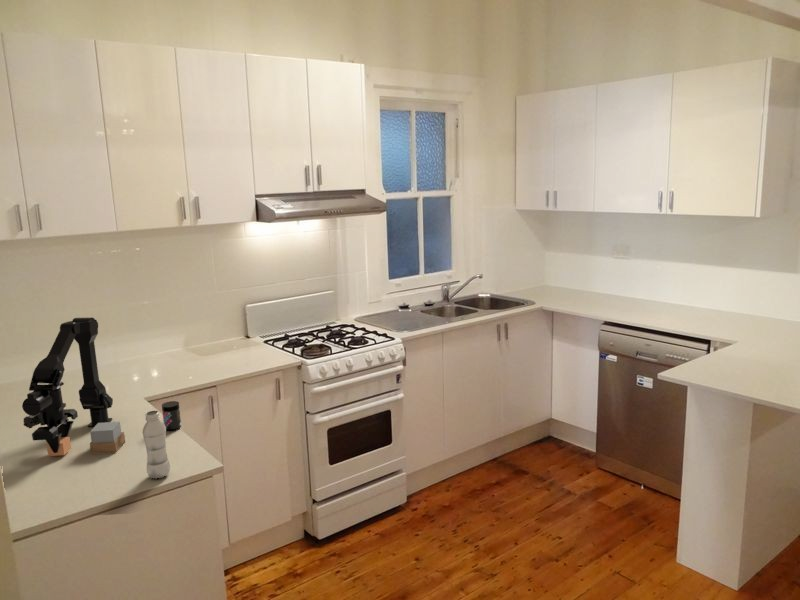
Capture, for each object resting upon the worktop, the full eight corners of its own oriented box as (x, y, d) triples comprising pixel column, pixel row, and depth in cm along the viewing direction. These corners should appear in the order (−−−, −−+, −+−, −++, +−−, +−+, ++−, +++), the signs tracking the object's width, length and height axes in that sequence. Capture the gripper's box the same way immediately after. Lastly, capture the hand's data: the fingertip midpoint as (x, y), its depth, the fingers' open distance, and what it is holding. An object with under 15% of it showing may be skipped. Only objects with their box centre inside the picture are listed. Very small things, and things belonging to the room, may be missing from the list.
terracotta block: (55, 449, 207) (53, 437, 206) (71, 448, 207) (69, 436, 206) (48, 455, 202) (46, 444, 201) (64, 455, 202) (62, 443, 201)
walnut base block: (101, 444, 212) (99, 433, 211) (125, 443, 213) (124, 432, 212) (91, 455, 204) (89, 443, 204) (116, 453, 205) (115, 442, 204)
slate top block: (99, 434, 211) (98, 422, 210) (121, 432, 211) (119, 421, 210) (91, 443, 204) (90, 431, 203) (114, 441, 204) (112, 430, 204)
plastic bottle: (142, 479, 186) (134, 416, 182) (158, 469, 193) (151, 407, 188) (160, 483, 184) (152, 418, 180) (175, 472, 190) (168, 409, 186)
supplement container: (164, 426, 225) (161, 402, 223) (181, 424, 227) (179, 400, 225) (163, 432, 220) (160, 408, 218) (181, 430, 221) (178, 405, 219)
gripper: (40, 394, 210) (47, 438, 213) (10, 416, 191) (18, 463, 195) (75, 392, 210) (81, 436, 213) (48, 414, 192) (56, 461, 195)
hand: (59, 448), depth 204 cm, fingers closed on terracotta block, 5 cm apart
